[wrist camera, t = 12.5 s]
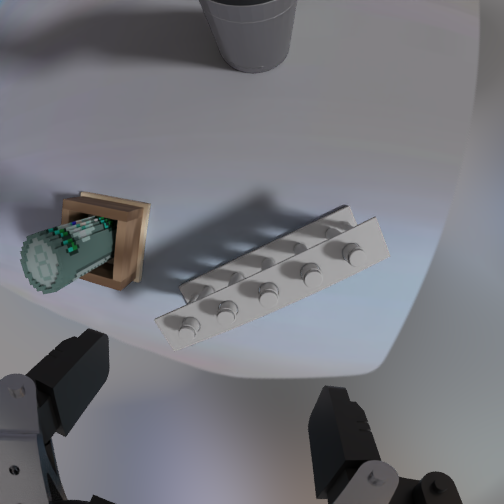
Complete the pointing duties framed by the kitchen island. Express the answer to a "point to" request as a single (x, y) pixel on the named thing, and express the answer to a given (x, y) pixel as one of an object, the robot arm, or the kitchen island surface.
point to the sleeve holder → (127, 237)
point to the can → (67, 252)
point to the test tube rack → (274, 277)
